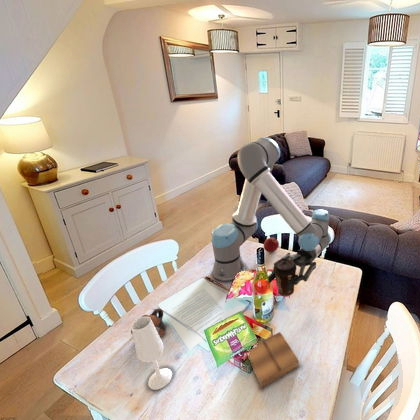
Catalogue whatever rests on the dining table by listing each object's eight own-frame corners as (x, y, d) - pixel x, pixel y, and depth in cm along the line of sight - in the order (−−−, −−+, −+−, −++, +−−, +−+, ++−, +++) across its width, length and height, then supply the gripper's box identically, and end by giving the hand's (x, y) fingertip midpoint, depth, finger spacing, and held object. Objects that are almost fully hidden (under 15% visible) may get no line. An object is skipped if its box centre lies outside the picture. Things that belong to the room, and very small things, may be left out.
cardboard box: (246, 354, 92) (245, 348, 90) (280, 337, 98) (279, 331, 97) (261, 388, 82) (261, 381, 80) (298, 366, 88) (298, 360, 87)
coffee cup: (284, 280, 110) (284, 254, 104) (301, 288, 106) (301, 261, 100) (270, 292, 103) (268, 265, 98) (287, 302, 99) (286, 274, 94)
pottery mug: (160, 345, 95) (141, 334, 90) (142, 348, 98) (123, 338, 93) (175, 313, 104) (159, 302, 99) (158, 316, 107) (142, 306, 102)
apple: (273, 256, 143) (272, 244, 139) (261, 252, 146) (260, 239, 143) (281, 249, 149) (281, 237, 145) (269, 245, 152) (269, 233, 149)
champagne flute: (166, 364, 88) (148, 309, 78) (176, 377, 84) (159, 322, 74) (144, 379, 83) (122, 324, 73) (153, 394, 79) (132, 338, 69)
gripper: (329, 267, 113) (302, 302, 95) (289, 252, 122) (256, 282, 104) (330, 252, 110) (302, 285, 92) (288, 238, 118) (255, 266, 100)
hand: (278, 283), depth 98 cm, fingers closed on coffee cup, 7 cm apart
